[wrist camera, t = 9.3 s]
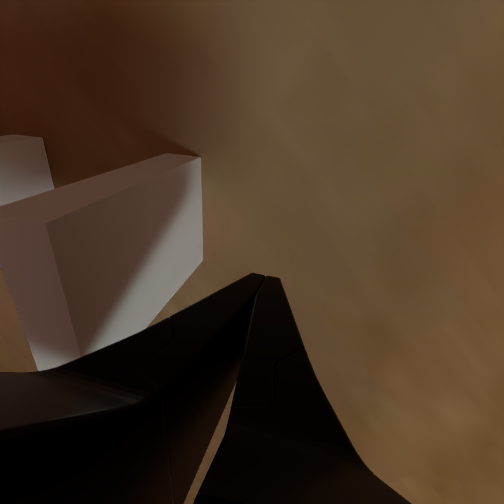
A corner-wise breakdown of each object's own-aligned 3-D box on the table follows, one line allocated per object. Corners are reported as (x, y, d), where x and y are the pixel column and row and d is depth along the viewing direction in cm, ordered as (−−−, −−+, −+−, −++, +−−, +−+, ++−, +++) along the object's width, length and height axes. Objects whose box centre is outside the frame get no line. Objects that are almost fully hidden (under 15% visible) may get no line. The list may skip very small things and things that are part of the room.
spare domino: (201, 156, 13) (45, 222, 6) (202, 260, 15) (90, 393, 8) (164, 152, 13) (-22, 211, 7) (172, 254, 16) (39, 379, 9)
